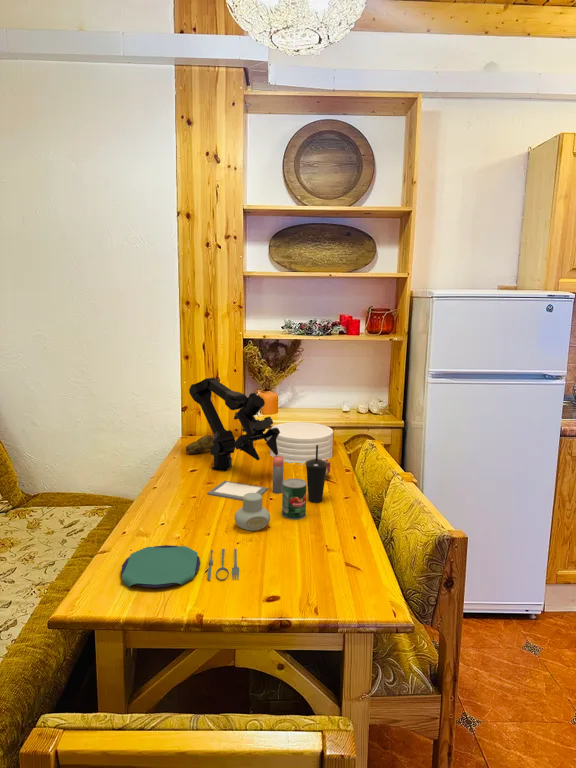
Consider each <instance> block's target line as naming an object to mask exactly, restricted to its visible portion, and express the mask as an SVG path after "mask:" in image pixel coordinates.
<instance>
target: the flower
mask: <svg viewBox="0 0 576 768" xmlns="http://www.w3.org/2000/svg"><path fill="white" fill-rule="evenodd" d="M323 461H326V462H327V463H328V465H327V467H326V475H325V480H328V479H329V477H328V474H329V473H331V467H332V466H331V462H330V461H329V460H327V459H325V460H323Z"/></svg>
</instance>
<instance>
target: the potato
mask: <svg viewBox="0 0 576 768" xmlns="http://www.w3.org/2000/svg"><path fill="white" fill-rule="evenodd" d="M213 436H214V435H213ZM213 436H212V435H211V434H208V435H204V436H201V437H200V438H198V439H197V440H196V441H193V442H190V443H189V444H187V445H186V447H185V452H186V453H187V454H190V455H194V454H201V453H204V452H206V451H209V450H210V448H211V447H212V446H213V445H214V444H213Z"/></svg>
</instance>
